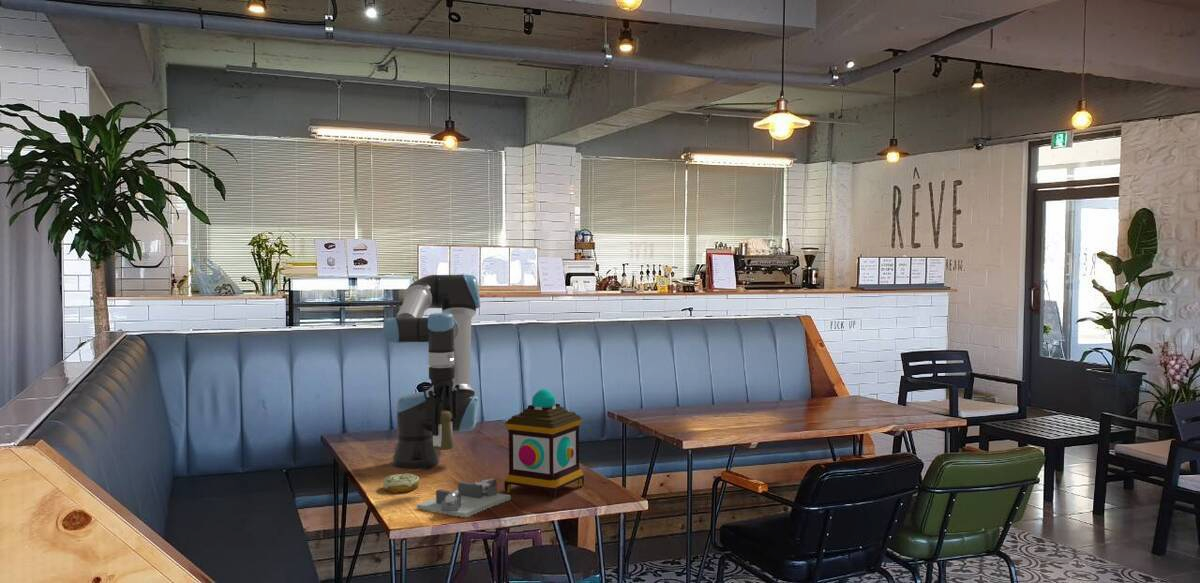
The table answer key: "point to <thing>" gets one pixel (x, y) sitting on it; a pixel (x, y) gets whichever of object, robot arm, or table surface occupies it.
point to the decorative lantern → (544, 446)
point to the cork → (445, 431)
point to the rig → (465, 500)
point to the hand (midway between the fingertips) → (442, 444)
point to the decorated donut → (401, 482)
